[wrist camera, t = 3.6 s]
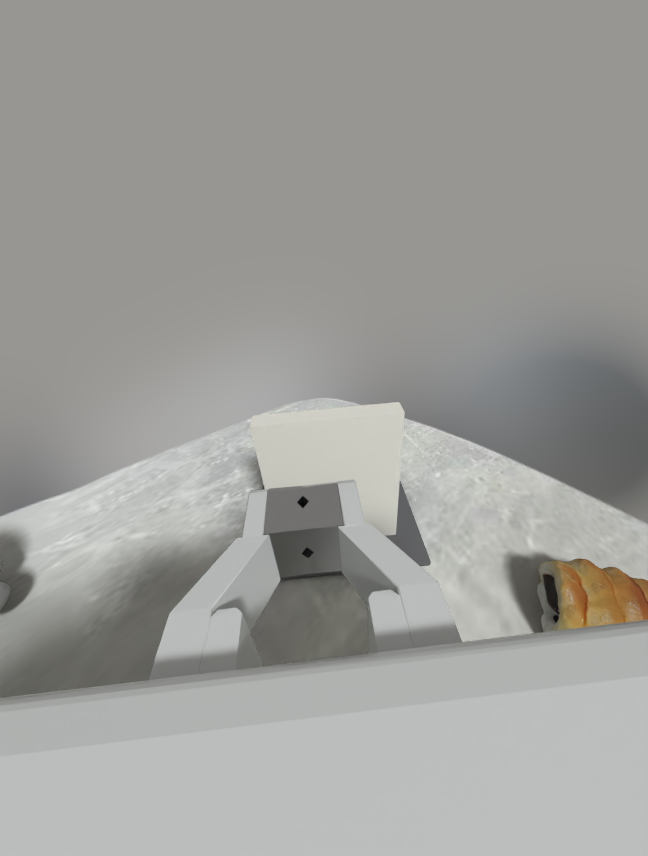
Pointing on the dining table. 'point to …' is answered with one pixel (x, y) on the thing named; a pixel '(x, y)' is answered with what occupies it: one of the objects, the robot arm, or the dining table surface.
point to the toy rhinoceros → (3, 590)
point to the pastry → (588, 595)
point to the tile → (336, 453)
